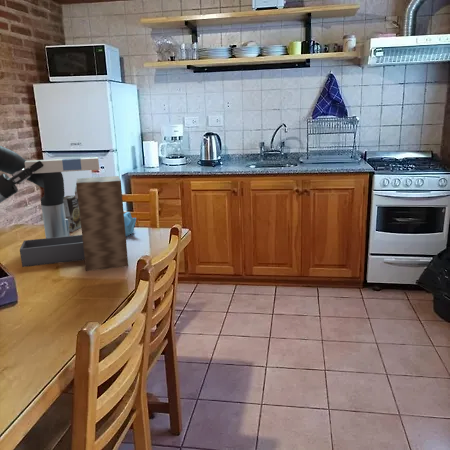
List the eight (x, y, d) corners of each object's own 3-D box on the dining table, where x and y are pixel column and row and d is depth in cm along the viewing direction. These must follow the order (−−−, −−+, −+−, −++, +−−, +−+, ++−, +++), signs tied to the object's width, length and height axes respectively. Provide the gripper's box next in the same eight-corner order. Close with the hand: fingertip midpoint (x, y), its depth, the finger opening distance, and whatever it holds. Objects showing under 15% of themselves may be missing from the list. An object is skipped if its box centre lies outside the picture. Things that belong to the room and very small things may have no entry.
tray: (22, 267, 164) (19, 249, 163) (26, 257, 176) (23, 240, 174) (107, 257, 173) (105, 240, 171) (106, 248, 184) (104, 232, 182)
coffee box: (73, 231, 210) (69, 199, 206) (61, 231, 212) (56, 198, 208) (82, 226, 219) (79, 195, 215) (71, 226, 220) (67, 195, 216)
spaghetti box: (26, 173, 149) (24, 162, 148) (27, 172, 152) (26, 160, 151) (99, 169, 155) (98, 158, 154) (99, 168, 159) (97, 157, 158)
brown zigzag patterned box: (83, 271, 158) (73, 183, 150) (84, 260, 170) (74, 178, 161) (128, 265, 163) (120, 180, 155) (125, 255, 174) (118, 175, 166)
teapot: (138, 236, 200) (136, 213, 197) (104, 241, 195) (102, 217, 192) (132, 228, 214) (131, 207, 211) (101, 232, 209) (99, 210, 206)
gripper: (-13, 184, 141) (33, 155, 143) (-5, 177, 154) (37, 151, 156) (2, 202, 144) (47, 174, 146) (9, 195, 157) (51, 168, 159)
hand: (42, 162), depth 151 cm, fingers closed on spaghetti box, 4 cm apart
